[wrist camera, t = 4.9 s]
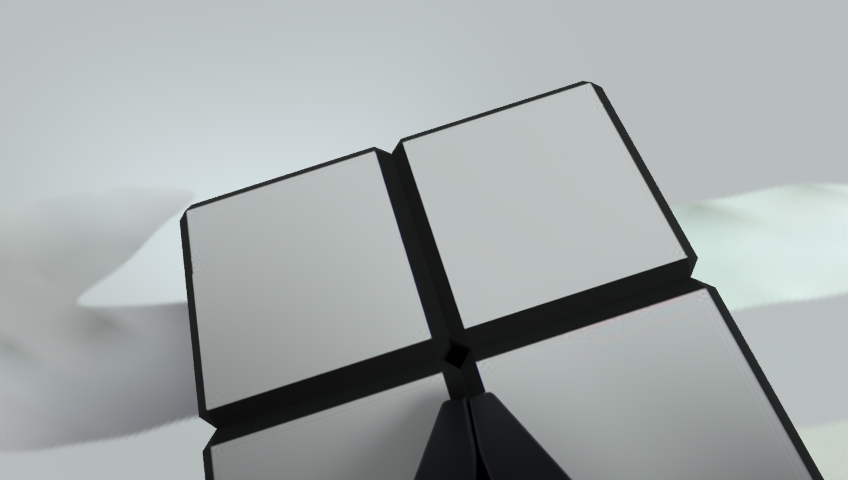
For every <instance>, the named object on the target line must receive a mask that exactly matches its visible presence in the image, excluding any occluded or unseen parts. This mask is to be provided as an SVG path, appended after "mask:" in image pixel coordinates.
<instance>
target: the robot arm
mask: <svg viewBox="0 0 848 480" xmlns="http://www.w3.org/2000/svg"><path fill="white" fill-rule="evenodd" d="M468 402H469V403H468ZM469 407H470V408H469ZM414 480H572V479H571V478H570V477H569V475H568V474H567V473H566V472H565V471H564V470H563V469H562V468H561V467H560V466H559V464H558V463H557V462H556V461H555V460H554V459H553V458H552V457H551V456H550V455H549V453H548V452H547V451H546V450H545V449H544V448H543V447H542V446H541V445H540V444H539V443H538V441H537V440H536V439H535V438H534V437H533V436H532V435H531V434H530V433H529V432H528V430H527V429H526V428H525V427H524V426H523V425H522V424H521V423H520V422H519V421H518V419H517V418H516V417H515V416H514V415H513V414H512V413H511V412H510V411H509V410H508V408H507V407H506V406H505V405H504V404H503V403H502V402H501V401H500V400H499V399H498V398H497V396H496V395H495V394H493V393H492V392H485V393H480V394H475V395H471V396H470V397H469V399H468V400H467V399H466V398H465V397H460V398H455V399H450V400H446V401H444V402H443V403H442V405H441V407H440V410H439V412H438V415H437V418H436V420H435V423H434V426H433V428H432V431H431V434H430V437H429V439H428V442H427V445H426V447H425V450H424V453H423V456H422V458H421V461H420V464H419V466H418V469H417V472H416V474H415V477H414Z"/></svg>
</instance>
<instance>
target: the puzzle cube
mask: <svg viewBox="0 0 848 480" xmlns="http://www.w3.org/2000/svg"><path fill="white" fill-rule="evenodd" d="M180 229H181V239H182V249H183V259H184V269H185V278H186V289H187V299H188V309H189V320H190V330H191V340H192V350H193V360H194V370H195V380H196V390H197V400H198V410H199V417H200V418H202V419H203V420H205V421H206V422H208V423H209V424H211V425H212V426H214V427H215V428H217V430H216V431H215V433H214V434H213V436H212V437H211V439H210V441H209V442H208V444H207V445H206V447H205V449H204V450H203V461H204V470H205V480H414V477H415V474H416V472H417V469H418V466H419V464H420V461H421V458H422V456H423V453H424V450H425V447H426V445H427V442H428V439H429V437H430V434H431V431H432V428H433V426H434V423H435V420H436V418H437V415H438V412H439V410H440V407H441V405H442V403H443V402H444V401H446V400H450V399H455V398H460V397H465V398H466V399H467V400H468V399H469V397H470V396H471V395H475V394H480V393H485V392H492V393H493V394H495V395H496V396H497V398H498V399H499V400H500V401H501V402H502V403H503V404H504V405H505V406H506V407H507V408H508V410H509V411H510V412H511V413H512V414H513V415H514V416H515V417H516V418H517V419H518V421H519V422H520V423H521V424H522V425H523V426H524V427H525V428H526V429H527V430H528V432H529V433H530V434H531V435H532V436H533V437H534V438H535V439H536V440H537V441H538V443H539V444H540V445H541V446H542V447H543V448H544V449H545V450H546V451H547V452H548V453H549V455H550V456H551V457H552V458H553V459H554V460H555V461H556V462H557V463H558V464H559V466H560V467H561V468H562V469H563V470H564V471H565V472H566V473H567V474H568V475H569V477H570V478H571V479H572V480H824V479H823V477H822V475H821V474H820V472H819V470H818V468H817V467H816V465H815V463H814V461H813V459H812V458H811V456H810V454H809V452H808V451H807V449H806V447H805V445H804V444H803V442H802V440H801V438H800V436H799V435H798V433H797V431H796V429H795V428H794V426H793V424H792V422H791V421H790V419H789V417H788V415H787V413H786V412H785V410H784V408H783V406H782V405H781V403H780V401H779V399H778V397H777V396H776V394H775V392H774V391H773V389H772V387H771V385H770V383H769V382H768V380H767V378H766V376H765V375H764V373H763V371H762V369H761V367H760V366H759V364H758V362H757V360H756V359H755V357H754V355H753V353H752V352H751V350H750V348H749V346H748V344H747V343H746V341H745V339H744V337H743V336H742V334H741V332H740V330H739V328H738V327H737V325H736V323H735V321H734V320H733V318H732V316H731V314H730V313H729V311H728V309H727V307H726V305H725V304H724V302H723V300H722V298H721V297H720V295H719V293H718V291H717V289H716V288H715V287H713V286H710V285H708V284H706V283H703V282H701V281H698V280H696V279H693V278H690V277H691V275H692V272H693V269H694V267H695V264H696V261H697V259H698V257H697V255H696V254H695V252H694V250H693V248H692V247H691V245H690V243H689V241H688V239H687V238H686V236H685V234H684V232H683V231H682V229H681V227H680V225H679V224H678V222H677V220H676V218H675V216H674V215H673V213H672V211H671V209H670V208H669V206H668V204H667V202H666V201H665V199H664V197H663V195H662V194H661V192H660V190H659V188H658V186H657V185H656V183H655V181H654V179H653V177H652V176H651V174H650V172H649V170H648V169H647V167H646V165H645V163H644V162H643V160H642V158H641V156H640V154H639V153H638V151H637V149H636V147H635V146H634V144H633V142H632V140H631V138H630V137H629V135H628V133H627V131H626V130H625V128H624V126H623V124H622V123H621V121H620V119H619V117H618V116H617V114H616V112H615V110H614V108H613V107H612V105H611V103H610V101H609V100H608V98H607V96H606V94H605V92H604V91H603V89H602V87H600V86H598V85H596V84H594V83H592V82H586V81H581V82H578V83H575V84H572V85H569V86H566V87H563V88H559V89H557V90H553V91H550V92H547V93H544V94H541V95H537V96H535V97H531V98H528V99H525V100H522V101H519V102H516V103H512V104H509V105H506V106H503V107H500V108H497V109H493V110H491V111H487V112H484V113H481V114H478V115H475V116H472V117H468V118H465V119H462V120H459V121H456V122H453V123H450V124H446V125H443V126H440V127H437V128H434V129H431V130H428V131H424V132H421V133H418V134H415V135H412V136H409V137H406V138H403V139H401V140H400V141H399V143H398V144H397V146H396V148H395V149H394V151H393V152H392V154H390V153H388V152H386V151H383V150H381V149H378V148H376V147H372V148H369V149H366V150H363V151H359V152H356V153H353V154H350V155H347V156H344V157H341V158H337V159H334V160H331V161H328V162H325V163H322V164H319V165H315V166H312V167H309V168H306V169H303V170H300V171H297V172H294V173H290V174H287V175H284V176H281V177H278V178H275V179H272V180H269V181H265V182H262V183H259V184H256V185H253V186H250V187H246V188H243V189H240V190H237V191H234V192H231V193H228V194H224V195H221V196H218V197H215V198H212V199H209V200H206V201H202V202H200V203H196V204H193V205H191V206H190V207H189V208H188V209H187V210H186V211H185V212H184V214H183V216H182V218H181V220H180ZM468 403H469V402H468ZM469 408H470V407H469Z"/></svg>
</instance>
